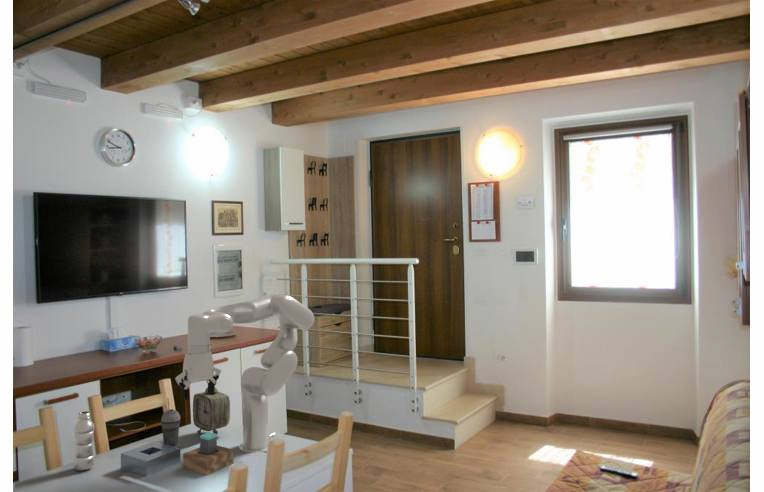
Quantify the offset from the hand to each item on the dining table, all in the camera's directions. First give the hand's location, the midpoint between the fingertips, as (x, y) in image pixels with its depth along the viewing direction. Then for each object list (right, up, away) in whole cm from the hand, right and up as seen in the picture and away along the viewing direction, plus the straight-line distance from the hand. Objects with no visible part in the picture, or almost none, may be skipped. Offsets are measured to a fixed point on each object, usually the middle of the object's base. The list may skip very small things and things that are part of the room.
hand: (198, 397), depth 201 cm
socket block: (-17, -25, -1) cm, 30 cm away
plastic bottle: (-40, -25, -2) cm, 47 cm away
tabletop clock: (-5, -25, +33) cm, 42 cm away
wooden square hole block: (+4, -25, -1) cm, 26 cm away
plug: (+4, -24, -1) cm, 25 cm away
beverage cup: (-16, -25, +16) cm, 34 cm away
